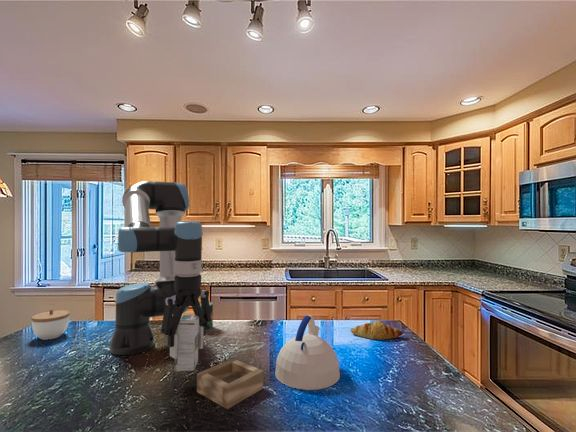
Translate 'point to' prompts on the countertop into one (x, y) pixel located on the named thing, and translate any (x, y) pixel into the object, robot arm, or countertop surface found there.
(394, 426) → the countertop surface
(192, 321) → the syrup box
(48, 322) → the lidded bowl
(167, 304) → the robot arm
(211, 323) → the canned tomato
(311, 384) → the kettle
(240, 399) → the socket block
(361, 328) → the croissant
